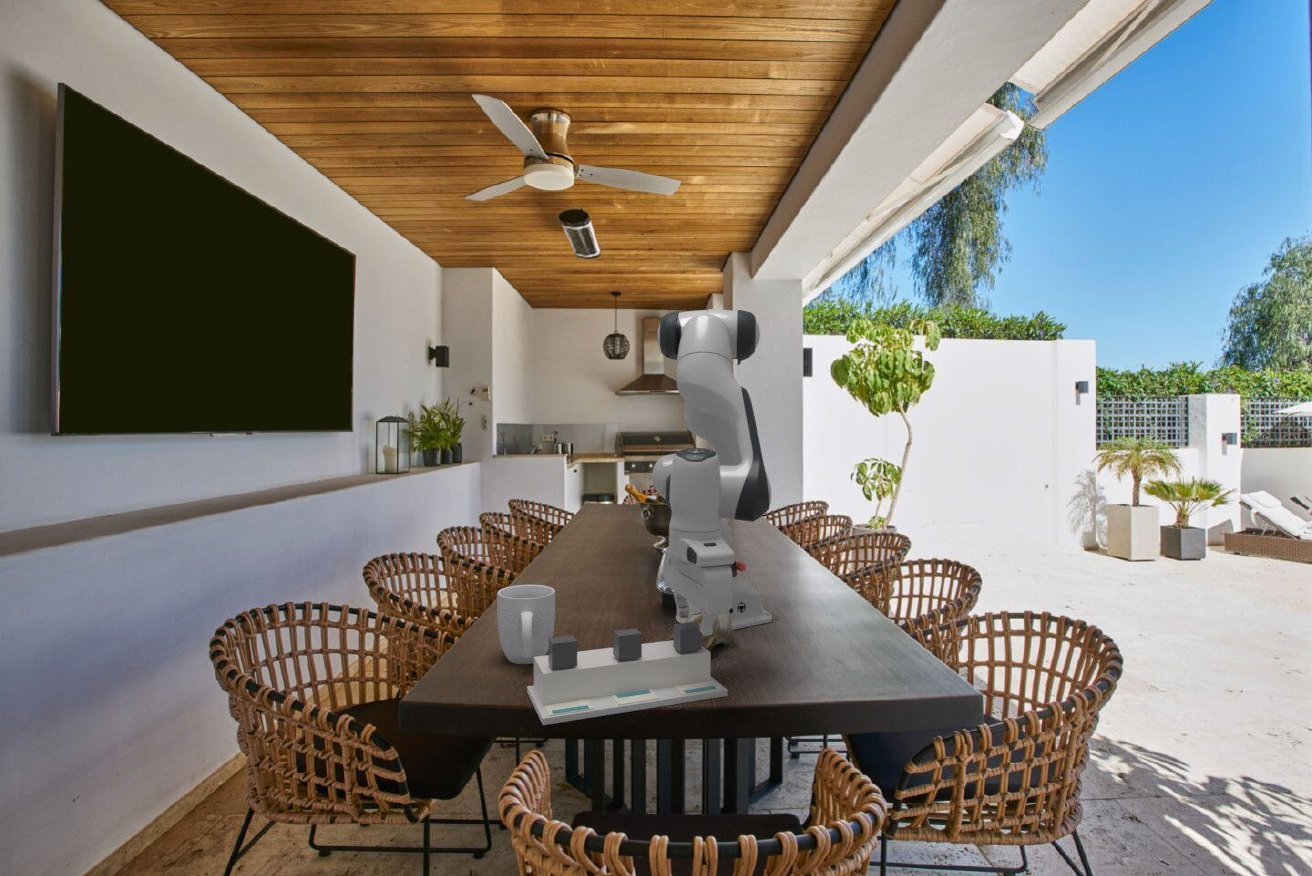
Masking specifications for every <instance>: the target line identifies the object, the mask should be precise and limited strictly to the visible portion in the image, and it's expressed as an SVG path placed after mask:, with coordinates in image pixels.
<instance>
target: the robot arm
mask: <svg viewBox="0 0 1312 876" xmlns="http://www.w3.org/2000/svg"><path fill="white" fill-rule="evenodd" d="M756 318H757V317H756V316H755V315H754V314H753V313H752V312H750V311H747V310H743V309H738V310H730V309H719V308H709V309H701V310H700V309H699V310H688V311H683V312H682V311H681V312H680V311H679V310H678V311H677V310H676V311H672V312H669V313H666V314H665V315H663V316H662V318H661V319H660V323H659V325H658V327H657V331H656V332H657V333H656V337H657V338H656V340H657V344H658V347H659V349H660V353H661V354H662V355H663V356H664V357H665V358H667V359H670V360H673V361H676V372H675V373H676V374H675V375H676V376H675V379H676V388H677V391H678V393H679V395H680V396H681V398H682V399H683V400H684V424H685V426H686V428H687V430H688V431H690V433H692V434H694V435H696V436H697V437H699V438H701V439H703V440H705V441H706V442H708V444H709V446H710V449H708V448H705V447H689V448H684V449H683V448H682V449H679V450H678V451H676V452H675V453H670V454H667V455H661V456H660V457H659V458H658V460H657V461H656V462H655V464H654V466H653V469H652V473H651V477H652V479H651V480H652V484H653V487H654V489H655V491H656V492H657V493H658V495H659V496H660V497H662V498H663V499H664V500H665V505H666V506H667V507H668V508H669V510H671V517H670V521H669V525H668V527H669V528H668V547H666V549H665V554H664V559H663V560H664V562H663V582H664V584H665V586H667V587H668V588H669V589H671V590H673V598H674V601H675V605H676V616H675V620H676V622H678V624H681V623H685V621H686V620H687V618H688V617H689V616H692V615H693V614H697V613H699V612H700V610H701V609H702V615H703V619H702V622H701V623H699V627H700V629H699V631H700V633H702V634H703V635H704V636H708V635H712V634H713V624H714V622H715V619H716V617H717V614H725V613H728V611H729V612H730V617H731V621H732V627H733V631H734V630H737V629H738V630H739V629H743V628H748V627H753V626H758V625H762V624H763V625H764V624H767V623H772V622H773V615H772V614H771V613H770V612H769V611H768V610H766V609H764V608H763V602H762V597H761V595H760V593H759V591H758V590H757V589H756V588H755V587H753V586H752V585H751V584H749V583H748V582H747V581H746V580H744V579H743V578H742V577H741V576H740V575H738V574H739V573H738V571H739V572H742V573H743V572H745V571H746V569H747V565H746V564H745V562H742V561H735V552H734V550H733V549H732V531H731V527H730V525H729V523H728V522H727V521H726V520H725V519H728V520H729V519H731V520H732V519H733V520H736V521H743V522H744V521H746V522H751V523H754V522H755V521H757V520H759V519H760V518H762V517H763V516H764V515H765V514H766V513H767V512H768V511H769V510H770V506H771V502H772V488H771V483H770V479H769V477H768V474H767V471H766V466H765V464H764V458H763V453H762V448H761V443H760V438H759V433H758V426H757V423H756V422H757V420H756V417H755V412H754V407H753V403H752V399H751V397H750V394H749V392H748V390H747V389H746V388H745V387H743V386H742V385H740V384H739V383H738V381H736V378H735V376H734V373H733V372H734V371H733V360H737V366H739V365H741V362H742V361H745V360H747V359H749V358H750V357H751V356H752V355H754V353H755V352H756V349H757V347H758V345H759V342H760V338H761V337H760V336H761V334H760V333H761V331H760V325H759V323H758V321H757V319H756Z"/></svg>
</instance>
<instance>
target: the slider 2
mask: <svg viewBox="0 0 1312 876" xmlns="http://www.w3.org/2000/svg"><path fill="white" fill-rule="evenodd" d="M699 629H700V627H699V625H698V624H697V623H695V622H690V623H674V624H673V633H674V643H673V647H674V648H675V649H676V650H678V651H679V652H680V653H682V652H690V651H698V650H702V633H700V631H699Z"/></svg>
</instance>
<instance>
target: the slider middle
mask: <svg viewBox="0 0 1312 876" xmlns="http://www.w3.org/2000/svg"><path fill="white" fill-rule="evenodd" d="M612 633H613V635H612V637H613V638H612V644H613V645H612V648H613V655H614V656H615V657H616V658H617V659H618V660H626V659H634V658H642V644H643V643H642V642H643V641H642V640H643V638H642V637H643V633H642V632H641V631H639V630H638V629H637V628H635V627H634V628H629V629H618V630H613V632H612Z"/></svg>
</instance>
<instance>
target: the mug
mask: <svg viewBox="0 0 1312 876" xmlns="http://www.w3.org/2000/svg"><path fill="white" fill-rule="evenodd" d="M496 599H497V601H496V620H497V622H496V623H497V631H498V638H499V642H500V646H501V649H502V651H503V653H504V656H505V657H506V658H507V661H509V662H510V663H512V664H516V665H530V664H534V657H538V656H546V655H547V653H548V649H549V638H553V636H554V631H555V630H554V629H555V620H556V590H555V589H554V588H553V587H550V586H548V585H544V584H543V585H541V584H519V585H517V584H516V585H511V586H507V587H504V588H501V589H499V590H498V591H497V595H496Z"/></svg>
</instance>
